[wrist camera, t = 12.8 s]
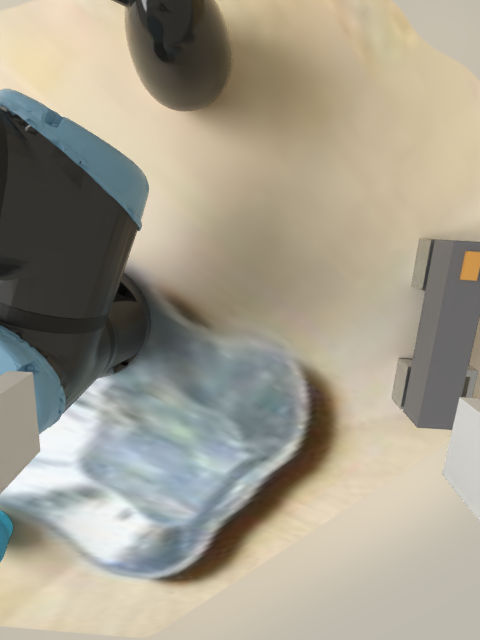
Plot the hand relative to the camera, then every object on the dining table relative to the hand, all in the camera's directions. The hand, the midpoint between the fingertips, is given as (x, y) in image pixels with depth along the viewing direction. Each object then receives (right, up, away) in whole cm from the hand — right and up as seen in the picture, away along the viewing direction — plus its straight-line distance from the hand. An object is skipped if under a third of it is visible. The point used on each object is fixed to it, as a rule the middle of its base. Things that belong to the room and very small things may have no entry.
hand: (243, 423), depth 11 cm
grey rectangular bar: (+24, +3, +37) cm, 44 cm away
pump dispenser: (-6, +32, +30) cm, 44 cm away
